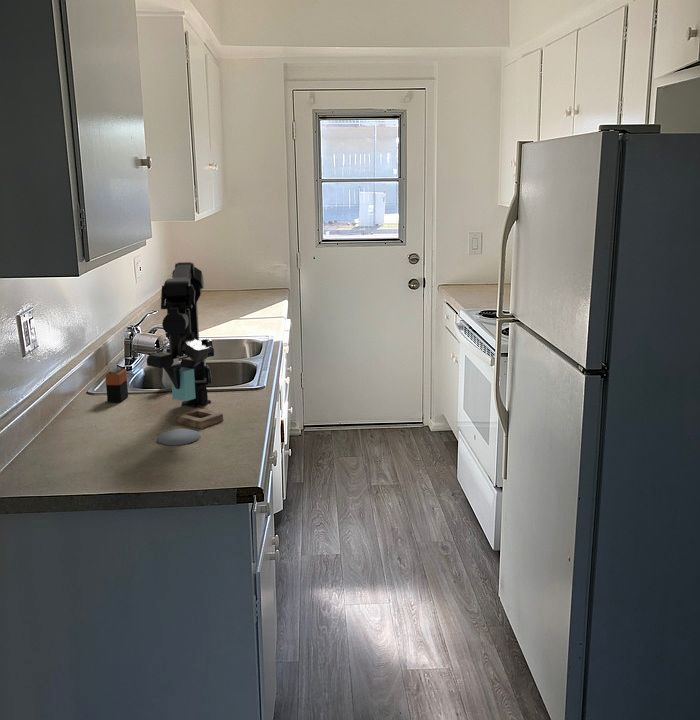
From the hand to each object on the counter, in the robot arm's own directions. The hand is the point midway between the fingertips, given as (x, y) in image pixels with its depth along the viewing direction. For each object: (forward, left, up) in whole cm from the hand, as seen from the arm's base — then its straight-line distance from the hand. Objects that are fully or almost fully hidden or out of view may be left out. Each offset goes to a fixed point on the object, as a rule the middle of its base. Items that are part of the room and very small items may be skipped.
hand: (183, 387), depth 199 cm
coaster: (+2, -4, -13) cm, 13 cm away
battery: (-41, +10, -13) cm, 45 cm away
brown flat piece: (-4, +9, -13) cm, 16 cm away
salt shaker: (-38, +29, -13) cm, 50 cm away
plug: (0, 0, -3) cm, 3 cm away
